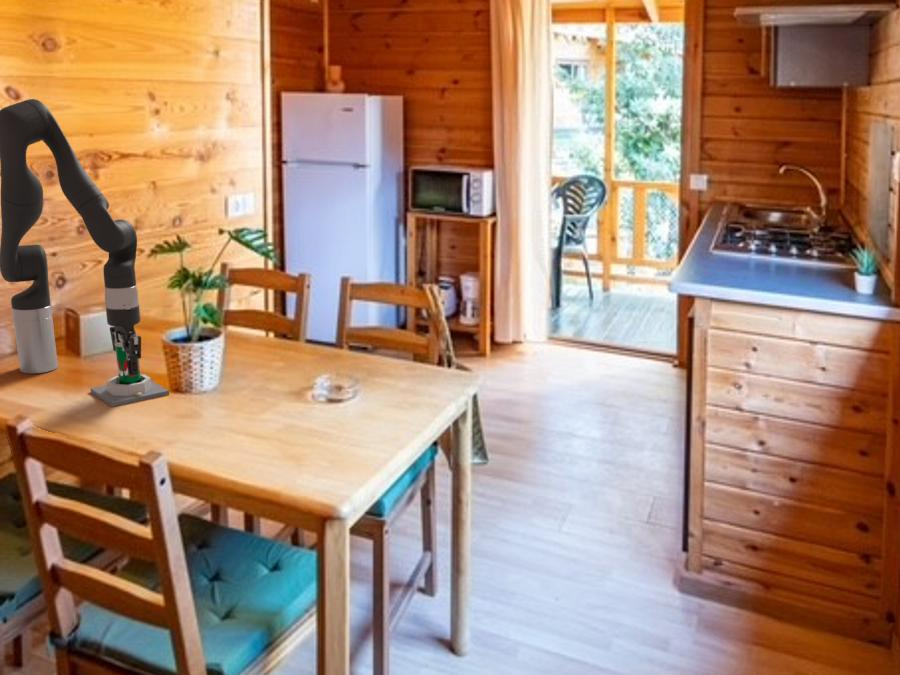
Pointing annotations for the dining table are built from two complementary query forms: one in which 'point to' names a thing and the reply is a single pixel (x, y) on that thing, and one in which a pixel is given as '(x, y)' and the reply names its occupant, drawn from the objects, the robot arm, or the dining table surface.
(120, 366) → the soda can
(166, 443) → the dining table surface
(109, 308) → the robot arm
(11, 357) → the dining table surface
